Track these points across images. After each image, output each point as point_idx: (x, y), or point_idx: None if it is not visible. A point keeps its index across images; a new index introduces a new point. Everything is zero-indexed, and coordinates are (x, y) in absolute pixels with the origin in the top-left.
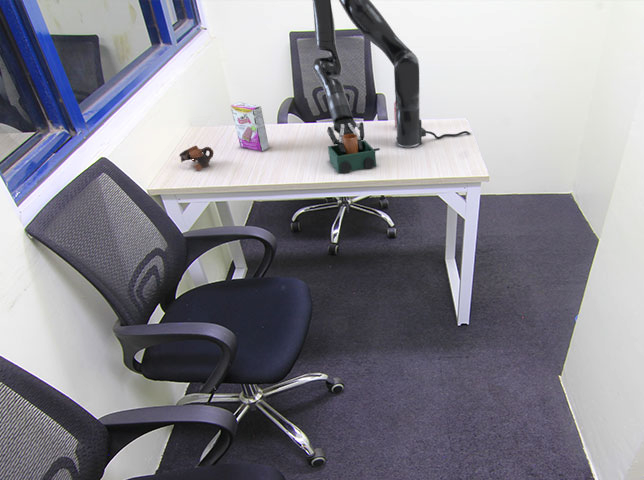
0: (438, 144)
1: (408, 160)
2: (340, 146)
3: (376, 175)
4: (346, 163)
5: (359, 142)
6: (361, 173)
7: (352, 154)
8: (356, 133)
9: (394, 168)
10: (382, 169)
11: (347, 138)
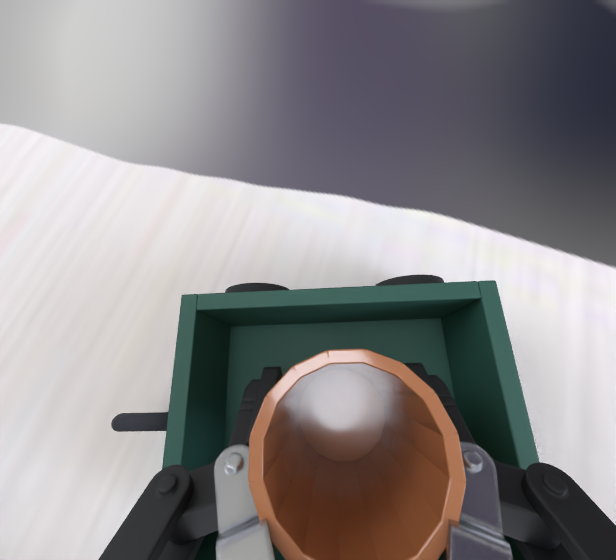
0: None
1: (41, 329)
2: (461, 416)
3: (264, 218)
4: (410, 277)
5: (252, 419)
6: (325, 264)
7: (363, 287)
8: (229, 531)
9: (154, 261)
10: (211, 271)
11: (366, 535)
